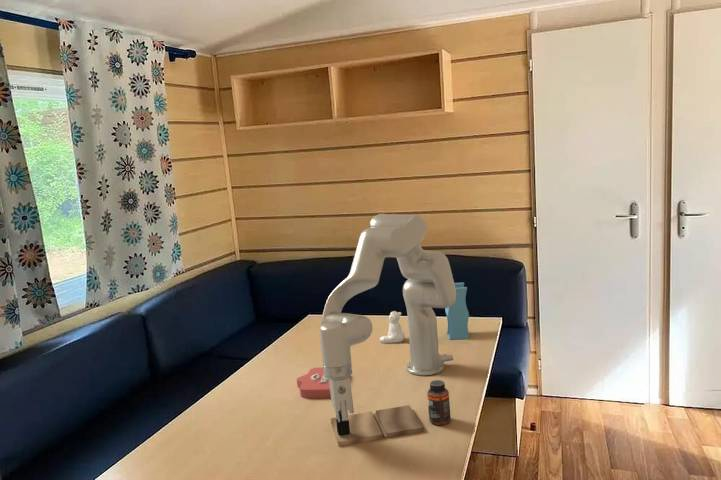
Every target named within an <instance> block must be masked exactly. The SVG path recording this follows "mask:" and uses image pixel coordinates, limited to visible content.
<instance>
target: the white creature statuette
mask: <svg viewBox="0 0 721 480" xmlns="http://www.w3.org/2000/svg"><path fill="white" fill-rule="evenodd" d="M401 316H402V312H401V311H399V312H398V311H396V310H393V311H391V312H390V314H389V317H388V323H389V324H388V325H389V326H388V332H387V335H383V336H380V338H379V343H381V344H399V343H401V342H403V341H404V340H405V333H404V331H403V329H402V326H401V324H400V322H399V320H400V319H401Z"/></svg>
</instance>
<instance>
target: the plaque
mask: <svg viewBox="0 0 721 480" xmlns="http://www.w3.org/2000/svg"><path fill="white" fill-rule="evenodd" d="M296 385H297V388H298V389H299V393H300V394H299V396H300V397H301V398H303V399H327V398H330V399H331V395H330V387H329V379H327V378H325V377H324V371H323V366H322V367H313V368H310V369H309V370H308V372H307V374H303V375H302V376H299V377H297V378H296Z"/></svg>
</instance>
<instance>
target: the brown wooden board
mask: <svg viewBox="0 0 721 480" xmlns="http://www.w3.org/2000/svg"><path fill="white" fill-rule="evenodd" d="M372 413H373V415H374V417H375V420H376V422H377V424H378V426H379V428H380V430H381V432H382V435H383V439H387V438H391V437H399V436H404V435H410V434H415V433H421V432H422V433H423V432H424V426H423V425H422V424H421V422H420V419H419V418H418V416H417V415H416V413H415V412H414V410H413V409H412V406H410V404H407V405H402V406H395V407H390V408H384V409H379V410H375V412H372Z"/></svg>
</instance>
